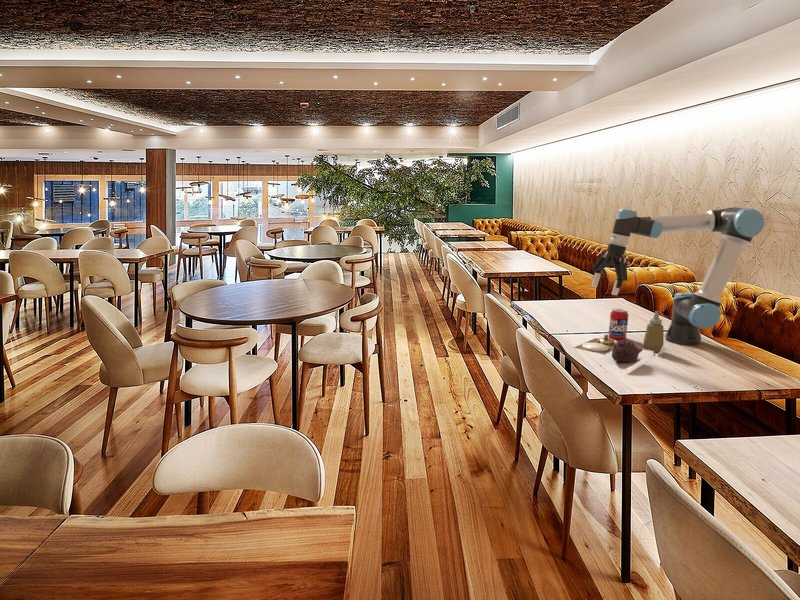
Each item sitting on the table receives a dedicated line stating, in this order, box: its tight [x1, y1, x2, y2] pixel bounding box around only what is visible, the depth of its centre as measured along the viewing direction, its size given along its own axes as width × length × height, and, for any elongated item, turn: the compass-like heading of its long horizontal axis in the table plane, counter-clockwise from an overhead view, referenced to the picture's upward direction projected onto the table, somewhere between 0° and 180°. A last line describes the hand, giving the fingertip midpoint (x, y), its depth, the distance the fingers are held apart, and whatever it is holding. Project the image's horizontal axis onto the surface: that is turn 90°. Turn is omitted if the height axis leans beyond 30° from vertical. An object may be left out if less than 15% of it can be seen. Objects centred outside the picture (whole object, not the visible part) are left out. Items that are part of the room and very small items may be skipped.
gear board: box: [573, 337, 617, 356], centre depth 239 cm, size 14×22×2 cm, turn 136°
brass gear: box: [596, 333, 615, 346], centre depth 243 cm, size 8×8×4 cm
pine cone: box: [611, 339, 643, 364], centre depth 218 cm, size 18×10×10 cm, turn 126°
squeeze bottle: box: [643, 310, 665, 354], centre depth 235 cm, size 8×8×18 cm
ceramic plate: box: [581, 342, 609, 352], centre depth 236 cm, size 11×11×1 cm
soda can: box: [607, 308, 629, 341], centre depth 251 cm, size 8×8×15 cm
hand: (603, 290), depth 240 cm, fingers open, 13 cm apart
